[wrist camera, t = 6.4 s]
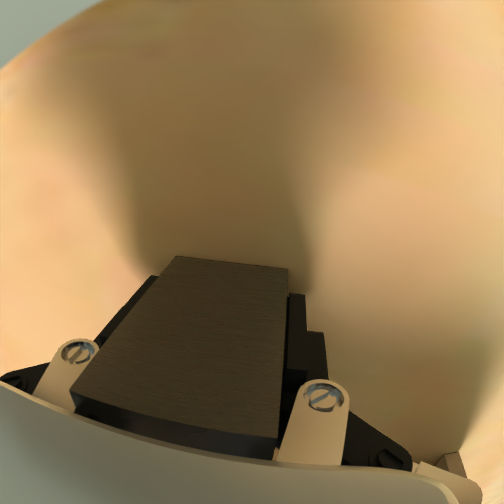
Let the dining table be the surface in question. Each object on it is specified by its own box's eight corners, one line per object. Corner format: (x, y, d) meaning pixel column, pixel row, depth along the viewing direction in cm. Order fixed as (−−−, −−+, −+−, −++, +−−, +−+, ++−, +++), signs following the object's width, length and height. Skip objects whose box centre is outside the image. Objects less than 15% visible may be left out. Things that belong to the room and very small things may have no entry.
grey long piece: (176, 256, 12) (68, 389, 5) (355, 276, 11) (407, 440, 5) (193, 480, 18) (169, 564, 11) (287, 493, 17) (279, 580, 11)
